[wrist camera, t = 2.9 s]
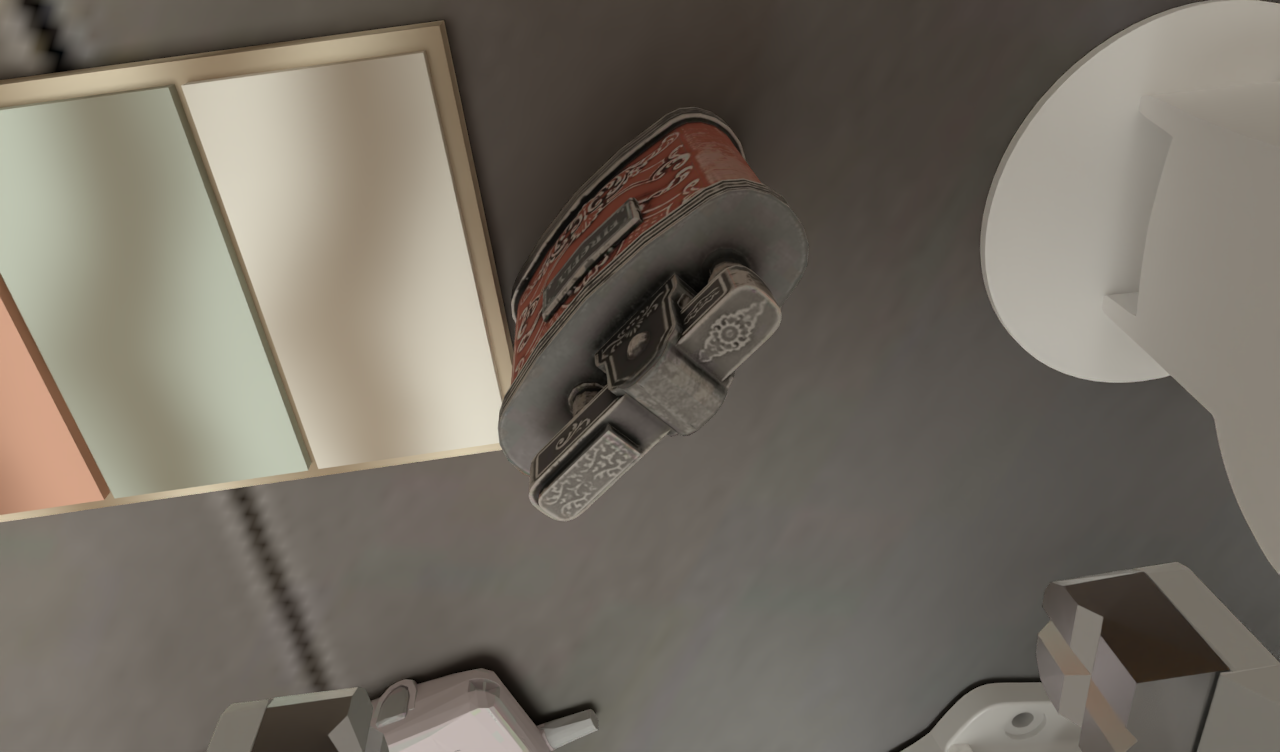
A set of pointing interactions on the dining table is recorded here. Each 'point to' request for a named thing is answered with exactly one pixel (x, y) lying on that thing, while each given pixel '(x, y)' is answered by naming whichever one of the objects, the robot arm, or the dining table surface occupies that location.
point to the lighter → (643, 307)
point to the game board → (242, 272)
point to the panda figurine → (1157, 227)
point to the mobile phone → (468, 717)
